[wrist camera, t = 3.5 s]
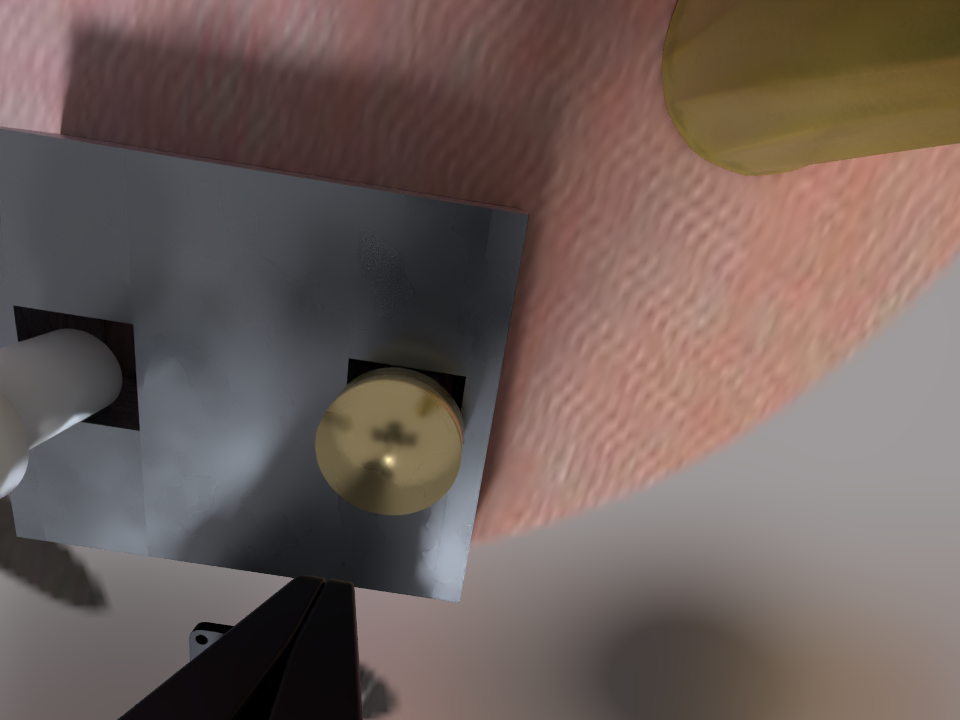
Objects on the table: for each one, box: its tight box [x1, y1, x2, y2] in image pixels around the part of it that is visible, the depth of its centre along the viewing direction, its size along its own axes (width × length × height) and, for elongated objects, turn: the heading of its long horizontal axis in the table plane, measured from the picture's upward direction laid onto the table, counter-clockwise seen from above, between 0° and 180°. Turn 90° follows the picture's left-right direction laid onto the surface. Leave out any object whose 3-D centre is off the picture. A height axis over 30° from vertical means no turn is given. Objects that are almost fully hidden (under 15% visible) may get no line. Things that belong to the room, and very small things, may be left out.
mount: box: [0, 127, 529, 602], centre depth 16 cm, size 12×14×3 cm
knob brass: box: [315, 364, 464, 515], centre depth 15 cm, size 4×4×5 cm
